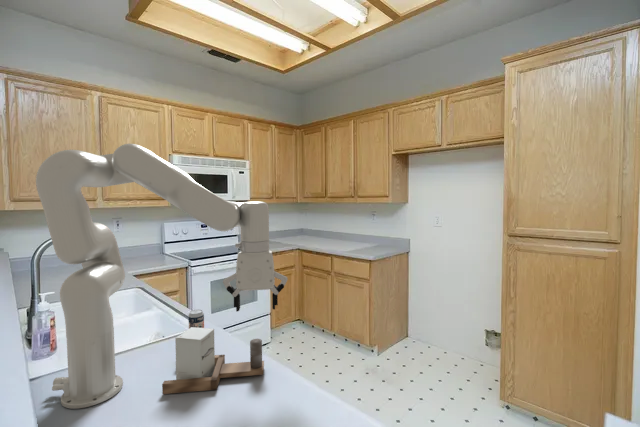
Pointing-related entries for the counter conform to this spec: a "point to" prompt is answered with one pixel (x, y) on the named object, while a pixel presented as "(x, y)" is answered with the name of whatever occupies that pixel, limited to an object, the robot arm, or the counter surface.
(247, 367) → the wooden cross board
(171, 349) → the counter surface
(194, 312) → the beer can
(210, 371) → the supplement box
